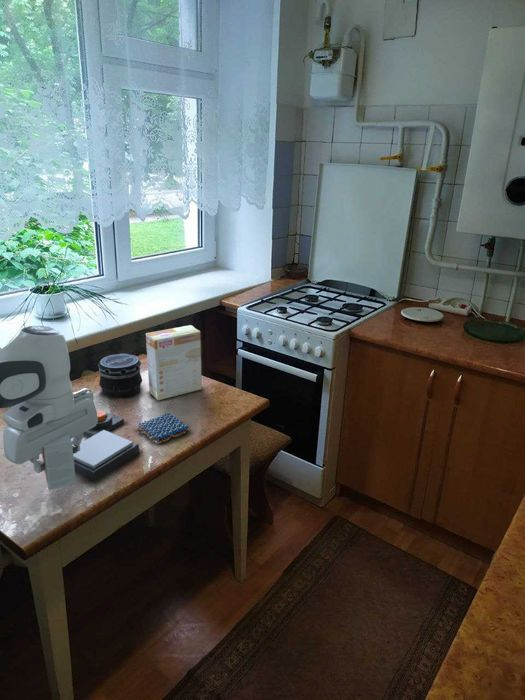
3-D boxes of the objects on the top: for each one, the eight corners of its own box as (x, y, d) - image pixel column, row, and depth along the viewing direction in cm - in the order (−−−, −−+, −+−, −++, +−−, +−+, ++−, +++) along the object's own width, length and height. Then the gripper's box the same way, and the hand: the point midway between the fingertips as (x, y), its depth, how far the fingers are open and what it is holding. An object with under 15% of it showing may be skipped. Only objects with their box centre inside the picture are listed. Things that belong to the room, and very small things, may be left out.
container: (115, 378, 161) (113, 350, 157) (150, 384, 157) (148, 355, 153) (91, 395, 149) (87, 364, 146) (128, 402, 146) (126, 371, 142)
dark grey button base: (95, 439, 127) (93, 429, 125) (76, 431, 130) (75, 421, 129) (124, 423, 135) (123, 413, 133) (106, 416, 138) (105, 406, 137)
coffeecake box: (192, 381, 160) (190, 324, 153) (202, 389, 155) (201, 331, 148) (148, 391, 152) (144, 332, 145) (157, 401, 147) (154, 339, 140)
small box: (44, 471, 109) (38, 429, 105) (70, 465, 111) (66, 423, 108) (48, 491, 102) (42, 447, 99) (76, 484, 105) (72, 441, 101)
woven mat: (169, 417, 138) (169, 410, 138) (191, 432, 131) (191, 425, 130) (135, 429, 132) (135, 422, 131) (157, 446, 125) (156, 439, 124)
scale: (94, 481, 111) (93, 469, 109) (59, 464, 116) (57, 452, 115) (139, 452, 122) (138, 441, 121) (105, 438, 127) (104, 426, 126)
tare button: (99, 423, 129) (98, 417, 129) (90, 419, 131) (90, 414, 130) (108, 418, 132) (108, 412, 131) (100, 414, 133) (99, 409, 133)
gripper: (82, 381, 110) (87, 435, 115) (-6, 417, 94) (4, 479, 99) (101, 389, 107) (106, 444, 112) (14, 427, 91) (24, 490, 96)
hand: (57, 461), depth 105 cm, fingers closed on small box, 7 cm apart
